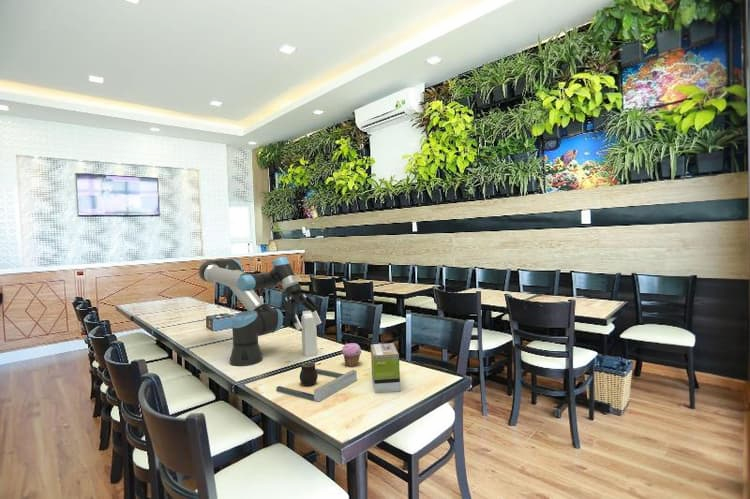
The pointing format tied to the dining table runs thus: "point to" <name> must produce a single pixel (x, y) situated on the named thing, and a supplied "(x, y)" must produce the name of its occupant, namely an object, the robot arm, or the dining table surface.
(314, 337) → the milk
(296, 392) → the u-shaped bar frame
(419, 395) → the dining table surface
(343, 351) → the cupcake
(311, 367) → the mate gourd
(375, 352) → the tea box
